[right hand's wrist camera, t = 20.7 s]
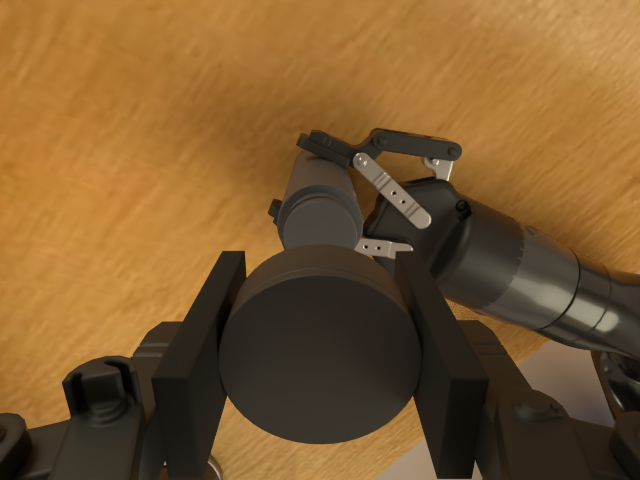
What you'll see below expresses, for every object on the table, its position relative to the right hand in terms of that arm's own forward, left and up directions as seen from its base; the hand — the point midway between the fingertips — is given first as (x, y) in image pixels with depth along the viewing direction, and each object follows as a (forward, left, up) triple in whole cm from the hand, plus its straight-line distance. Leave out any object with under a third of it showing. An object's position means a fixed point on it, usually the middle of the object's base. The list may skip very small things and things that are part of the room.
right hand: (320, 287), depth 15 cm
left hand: (+1, -2, -16) cm, 16 cm away
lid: (0, 0, +4) cm, 4 cm away
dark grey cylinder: (0, 0, -23) cm, 23 cm away
